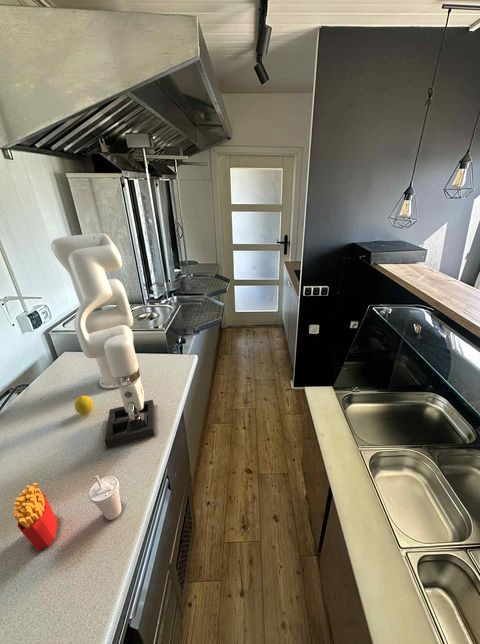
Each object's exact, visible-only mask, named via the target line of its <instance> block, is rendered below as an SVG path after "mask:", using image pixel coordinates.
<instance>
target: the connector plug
mask: <svg viewBox="0 0 480 644" xmlns="http://www.w3.org/2000/svg"><path fill="white" fill-rule="evenodd" d="M146 413H147V411H146V412H142V413H139V416H141V419H142V423H143V427H146V426H148V420H147V416H146ZM135 415H137V414H135ZM141 428H142V427H141ZM137 429H139V428H137ZM134 430H135V429H134Z"/></svg>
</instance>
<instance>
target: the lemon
mask: <svg viewBox="0 0 480 644" xmlns="http://www.w3.org/2000/svg"><path fill="white" fill-rule="evenodd" d="M74 409H75V411H76V413H78V414H79V415H82V416H86V415H88V414H90V413H91V412H92V411H93V409H94V401H93V400H92V398H91V397H90V396H88V395H81V396H79V397H77V398H76V400H75V401H74Z"/></svg>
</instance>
